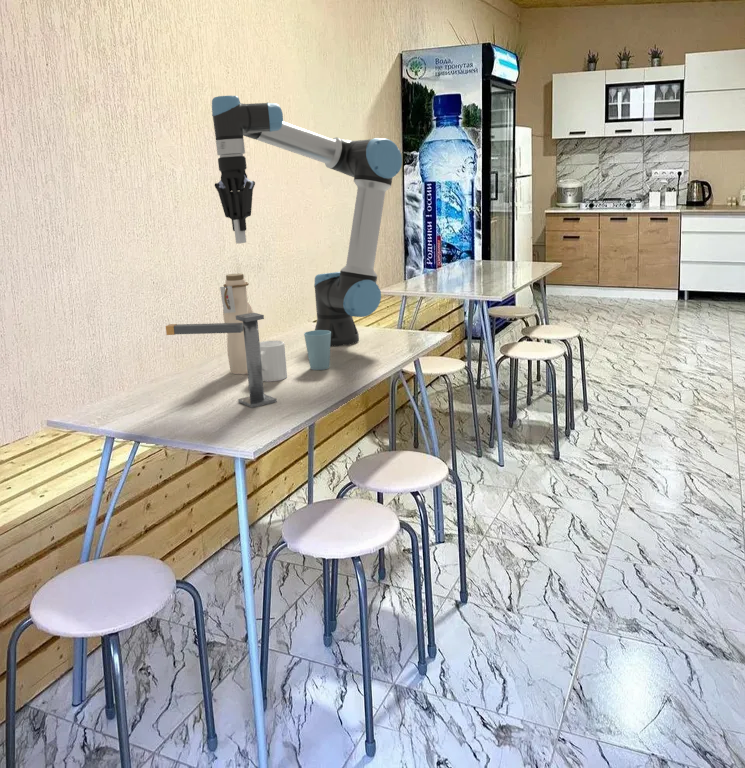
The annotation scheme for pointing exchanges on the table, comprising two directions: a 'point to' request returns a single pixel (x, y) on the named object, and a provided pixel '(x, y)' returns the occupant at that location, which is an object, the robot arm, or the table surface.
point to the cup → (318, 348)
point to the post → (253, 361)
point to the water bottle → (232, 306)
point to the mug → (273, 360)
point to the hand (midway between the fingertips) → (241, 242)
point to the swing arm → (204, 328)
